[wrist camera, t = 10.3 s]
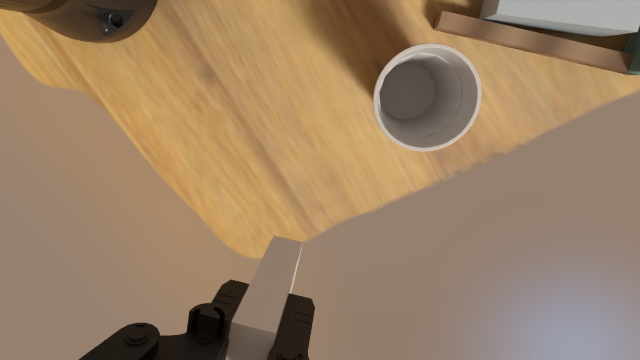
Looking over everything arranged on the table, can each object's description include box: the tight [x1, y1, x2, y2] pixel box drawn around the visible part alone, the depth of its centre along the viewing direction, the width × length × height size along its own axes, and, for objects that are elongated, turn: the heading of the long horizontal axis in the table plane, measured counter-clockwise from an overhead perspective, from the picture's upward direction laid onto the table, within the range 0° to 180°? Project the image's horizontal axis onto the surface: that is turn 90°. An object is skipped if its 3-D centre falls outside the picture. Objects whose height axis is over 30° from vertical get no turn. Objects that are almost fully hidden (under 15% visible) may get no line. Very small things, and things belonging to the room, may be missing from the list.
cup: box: [373, 43, 481, 151], centre depth 33 cm, size 8×8×12 cm
